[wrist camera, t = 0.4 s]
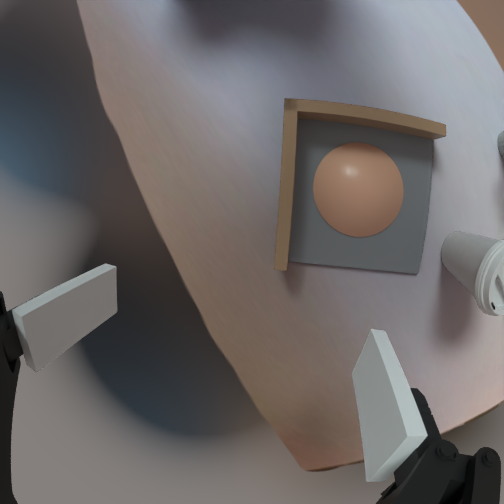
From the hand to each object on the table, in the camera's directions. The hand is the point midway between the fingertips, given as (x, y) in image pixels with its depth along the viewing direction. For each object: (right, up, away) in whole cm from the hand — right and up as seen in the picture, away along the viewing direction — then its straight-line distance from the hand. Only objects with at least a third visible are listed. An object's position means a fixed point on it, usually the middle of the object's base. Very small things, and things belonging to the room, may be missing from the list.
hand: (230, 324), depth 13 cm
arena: (+16, +12, +23) cm, 30 cm away
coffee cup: (+33, +4, +22) cm, 40 cm away
